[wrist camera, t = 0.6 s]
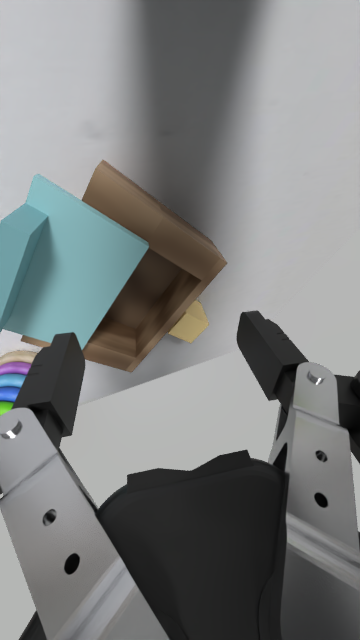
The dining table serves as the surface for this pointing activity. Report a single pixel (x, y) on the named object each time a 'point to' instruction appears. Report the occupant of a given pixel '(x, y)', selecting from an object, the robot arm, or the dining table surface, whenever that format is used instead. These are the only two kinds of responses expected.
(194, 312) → the ochre block
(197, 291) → the wooden box
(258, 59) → the dining table surface
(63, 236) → the sliding lid
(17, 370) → the stacking toy
